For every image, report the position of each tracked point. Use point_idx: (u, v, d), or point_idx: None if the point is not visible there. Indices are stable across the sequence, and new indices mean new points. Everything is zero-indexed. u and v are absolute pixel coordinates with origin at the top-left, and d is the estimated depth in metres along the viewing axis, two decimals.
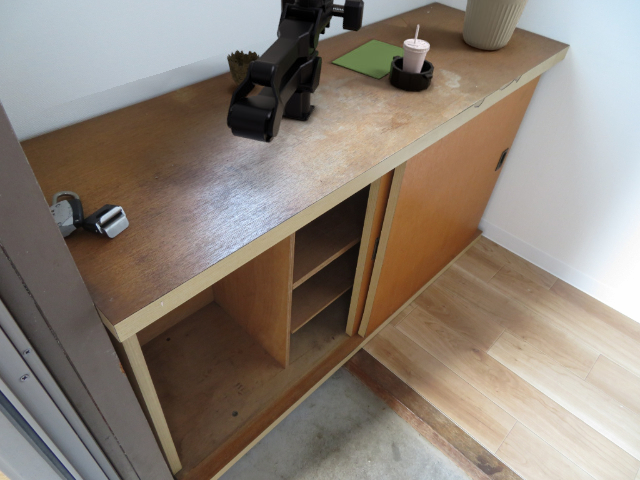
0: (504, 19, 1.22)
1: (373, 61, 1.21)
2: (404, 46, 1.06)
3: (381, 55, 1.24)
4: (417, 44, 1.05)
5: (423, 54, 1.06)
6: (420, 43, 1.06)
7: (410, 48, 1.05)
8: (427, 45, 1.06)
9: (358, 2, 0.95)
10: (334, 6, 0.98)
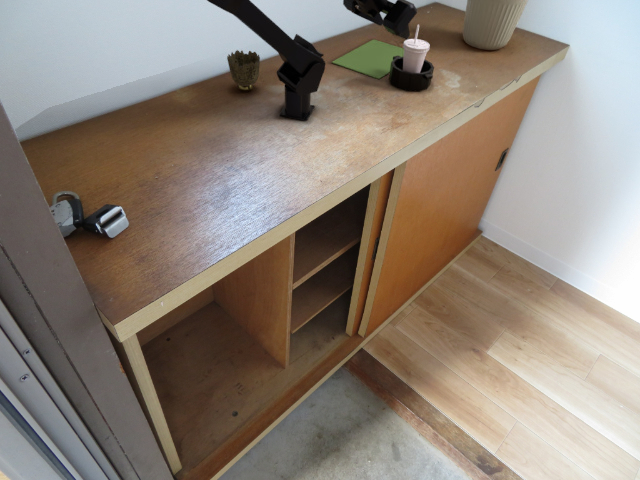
0: (504, 19, 1.22)
1: (373, 61, 1.21)
2: (404, 46, 1.06)
3: (381, 55, 1.24)
4: (417, 44, 1.05)
5: (423, 54, 1.06)
6: (420, 43, 1.06)
7: (410, 48, 1.05)
8: (427, 45, 1.06)
9: (411, 3, 0.88)
10: (389, 3, 0.91)
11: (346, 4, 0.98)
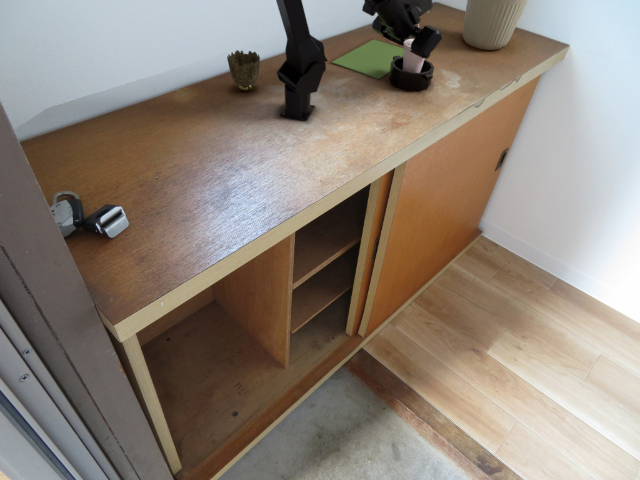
0: (504, 19, 1.22)
1: (373, 61, 1.21)
2: (404, 46, 1.06)
3: (381, 55, 1.24)
4: None
5: None
6: None
7: (410, 48, 1.05)
8: None
9: (437, 29, 0.96)
10: None
11: (375, 27, 1.06)
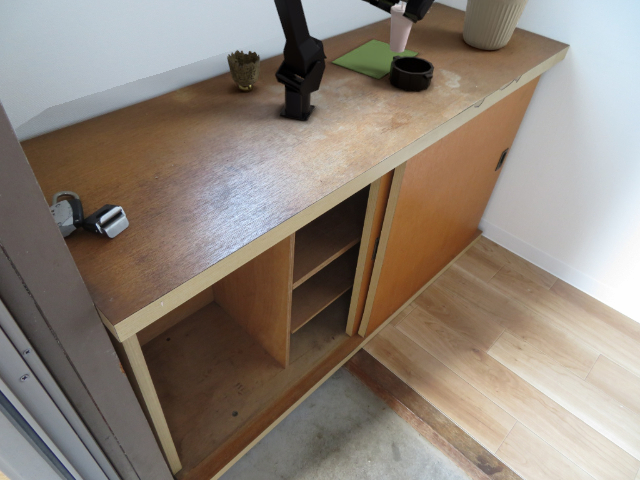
0: (504, 19, 1.22)
1: (373, 61, 1.21)
2: (392, 12, 1.05)
3: (381, 55, 1.24)
4: None
5: None
6: None
7: (399, 13, 1.04)
8: None
9: None
10: None
11: None
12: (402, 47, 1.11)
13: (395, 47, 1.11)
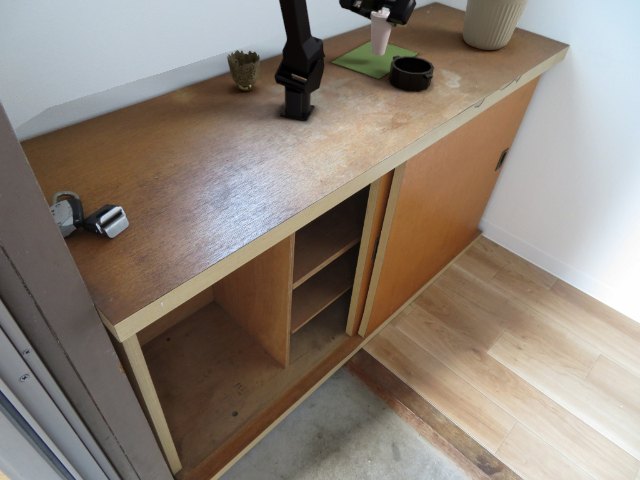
0: (504, 19, 1.22)
1: (373, 61, 1.21)
2: (373, 18, 1.10)
3: (381, 55, 1.24)
4: (384, 14, 1.10)
5: None
6: (386, 13, 1.11)
7: (380, 18, 1.09)
8: None
9: None
10: None
11: (343, 3, 1.08)
12: (383, 50, 1.16)
13: (377, 50, 1.16)
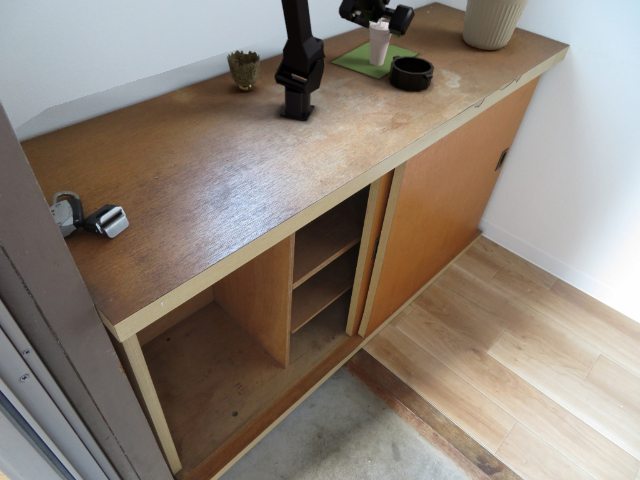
0: (504, 19, 1.22)
1: None
2: (372, 29, 1.12)
3: None
4: (383, 26, 1.12)
5: (390, 34, 1.13)
6: (384, 25, 1.13)
7: (379, 30, 1.11)
8: None
9: (410, 7, 1.03)
10: (388, 9, 1.06)
11: (343, 13, 1.10)
12: (382, 60, 1.18)
13: (376, 61, 1.18)
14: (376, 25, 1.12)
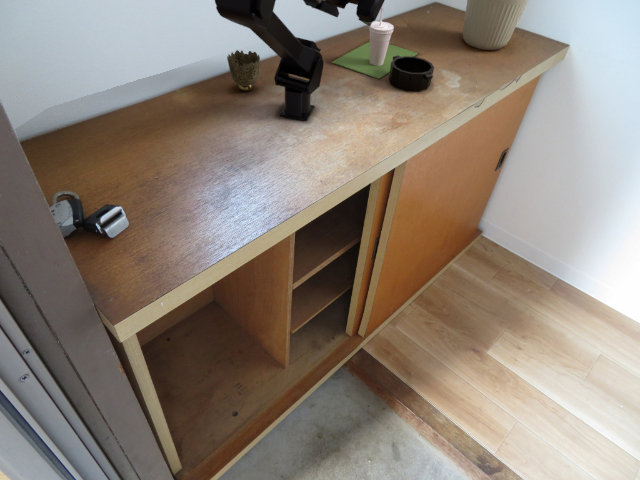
0: (504, 19, 1.22)
1: None
2: (372, 29, 1.12)
3: None
4: (383, 26, 1.12)
5: (390, 34, 1.13)
6: (384, 25, 1.13)
7: (379, 30, 1.11)
8: (391, 25, 1.13)
9: None
10: None
11: (307, 0, 0.99)
12: (382, 60, 1.18)
13: (376, 61, 1.18)
14: (376, 25, 1.12)
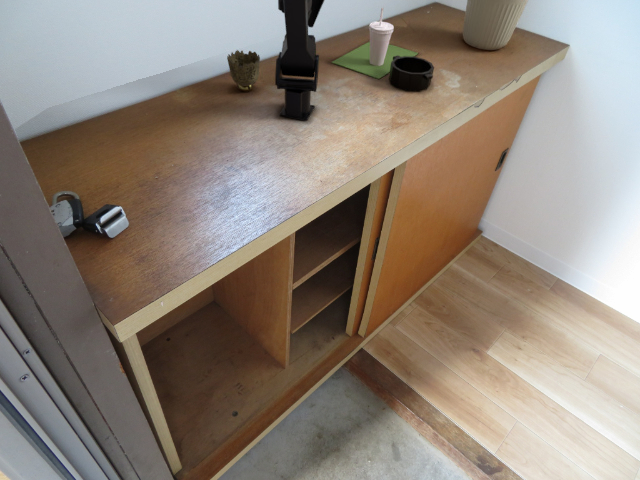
0: (504, 19, 1.22)
1: None
2: (372, 29, 1.12)
3: None
4: (383, 26, 1.12)
5: (390, 34, 1.13)
6: (384, 25, 1.13)
7: (379, 30, 1.11)
8: (391, 25, 1.13)
9: None
10: None
11: (308, 0, 0.89)
12: (382, 60, 1.18)
13: (376, 61, 1.18)
14: (376, 25, 1.12)
